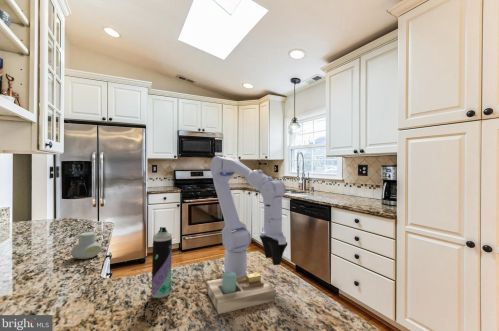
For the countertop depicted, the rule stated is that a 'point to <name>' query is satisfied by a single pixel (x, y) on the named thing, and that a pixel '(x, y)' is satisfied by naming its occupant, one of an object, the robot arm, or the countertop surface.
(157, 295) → the spray can
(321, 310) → the countertop surface
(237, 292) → the dock plate
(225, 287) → the teal peg
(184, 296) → the countertop surface
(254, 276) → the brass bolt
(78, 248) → the air freshener
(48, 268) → the countertop surface
